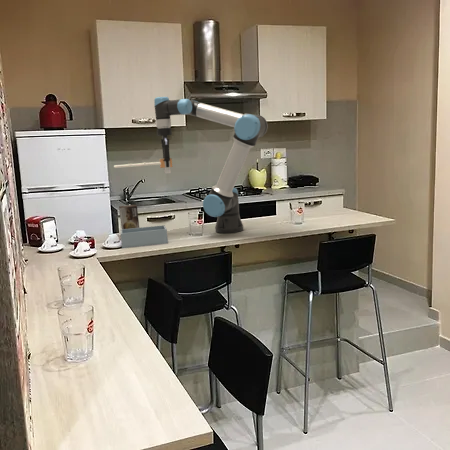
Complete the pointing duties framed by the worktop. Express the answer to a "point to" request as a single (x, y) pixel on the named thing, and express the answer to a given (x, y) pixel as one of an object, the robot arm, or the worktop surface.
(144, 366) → the worktop surface
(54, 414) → the worktop surface
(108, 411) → the worktop surface
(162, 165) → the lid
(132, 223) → the coffee box
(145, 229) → the tub
